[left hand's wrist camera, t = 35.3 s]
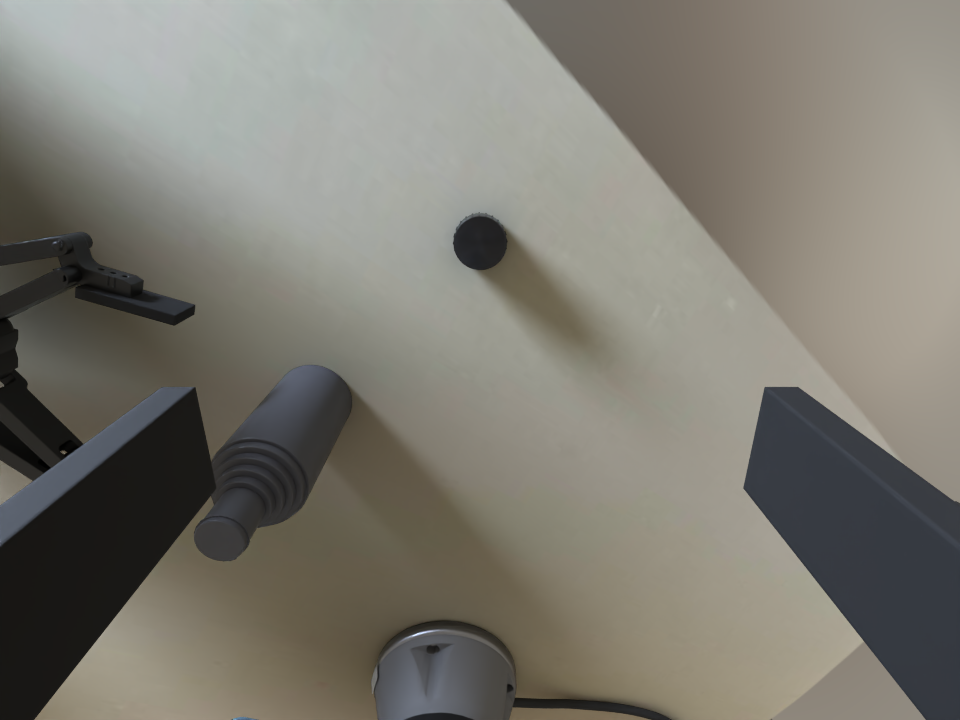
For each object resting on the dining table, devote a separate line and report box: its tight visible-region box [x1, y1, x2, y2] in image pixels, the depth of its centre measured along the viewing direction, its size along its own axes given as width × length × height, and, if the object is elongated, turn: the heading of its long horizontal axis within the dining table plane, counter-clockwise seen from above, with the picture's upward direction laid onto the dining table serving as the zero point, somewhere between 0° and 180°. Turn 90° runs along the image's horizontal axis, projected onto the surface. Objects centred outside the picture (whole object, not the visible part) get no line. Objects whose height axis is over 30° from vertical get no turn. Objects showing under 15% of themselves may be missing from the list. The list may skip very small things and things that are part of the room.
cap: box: [453, 212, 507, 270], centre depth 41 cm, size 4×4×2 cm
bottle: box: [194, 365, 352, 561], centre depth 38 cm, size 6×6×18 cm
